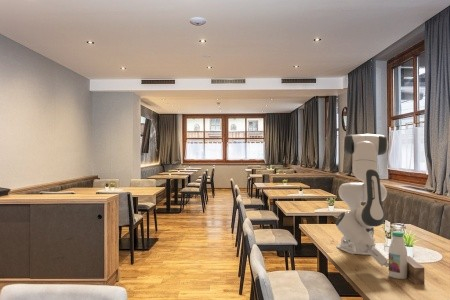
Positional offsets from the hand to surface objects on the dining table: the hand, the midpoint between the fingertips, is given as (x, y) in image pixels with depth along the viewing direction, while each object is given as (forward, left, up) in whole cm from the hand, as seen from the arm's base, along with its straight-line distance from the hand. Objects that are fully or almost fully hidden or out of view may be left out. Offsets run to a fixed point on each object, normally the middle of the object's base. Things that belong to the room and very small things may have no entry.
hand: (387, 265), depth 167 cm
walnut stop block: (+6, +9, -5) cm, 12 cm away
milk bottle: (+3, +4, -5) cm, 7 cm away
